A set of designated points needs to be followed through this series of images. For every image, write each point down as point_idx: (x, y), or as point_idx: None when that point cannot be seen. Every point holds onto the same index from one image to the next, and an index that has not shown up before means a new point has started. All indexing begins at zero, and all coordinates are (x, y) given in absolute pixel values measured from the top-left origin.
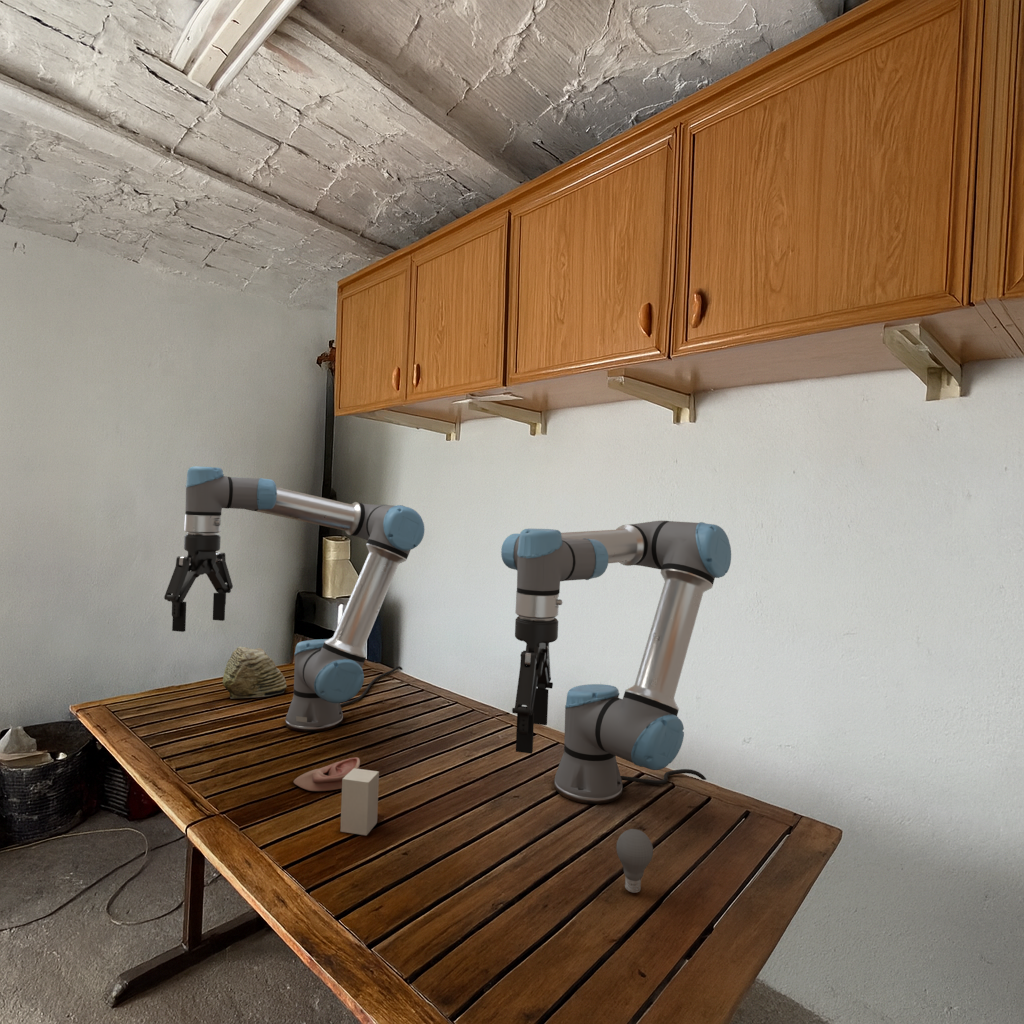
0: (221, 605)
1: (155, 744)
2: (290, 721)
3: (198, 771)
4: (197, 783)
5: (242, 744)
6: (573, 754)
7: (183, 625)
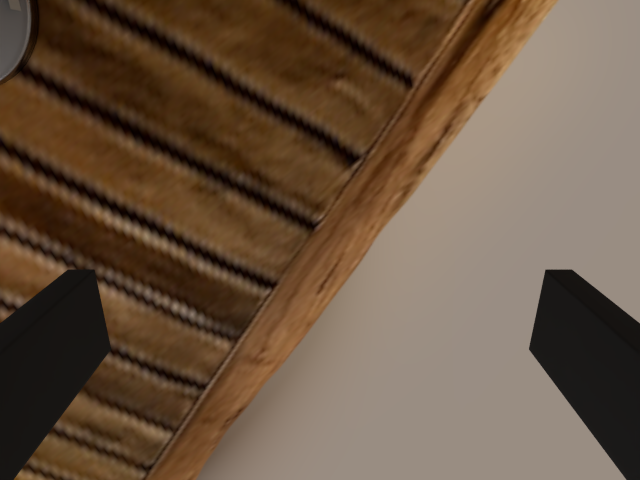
0: (13, 364)
1: (256, 290)
2: (20, 40)
3: (351, 106)
4: (408, 65)
5: (180, 107)
6: None
7: (596, 293)
